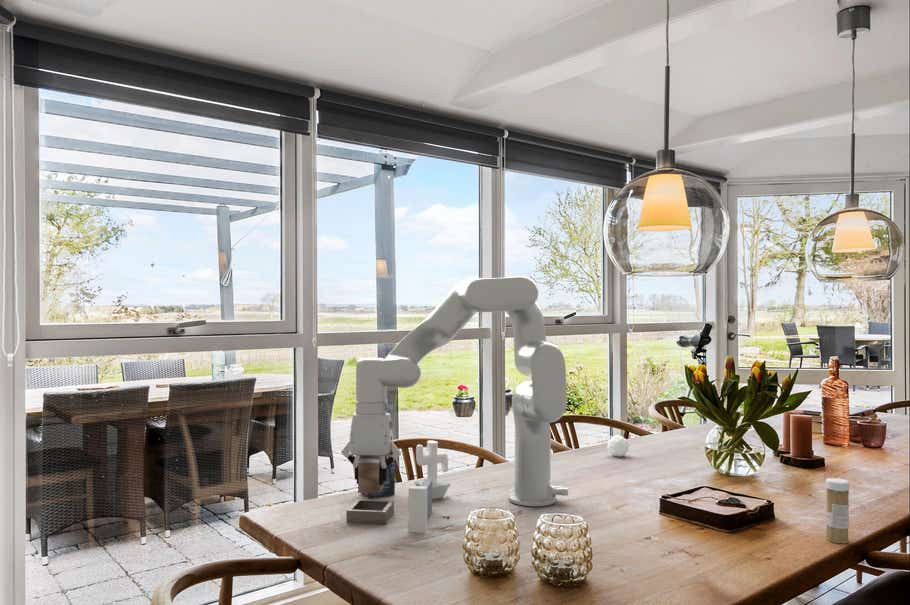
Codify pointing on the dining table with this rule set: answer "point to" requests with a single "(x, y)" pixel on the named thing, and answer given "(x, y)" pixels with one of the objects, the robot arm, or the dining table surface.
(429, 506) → the grey upright block
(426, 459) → the figurine
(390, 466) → the box
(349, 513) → the tray
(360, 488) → the stop block
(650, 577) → the dining table surface
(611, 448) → the ornament
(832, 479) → the sprinkles bottle
